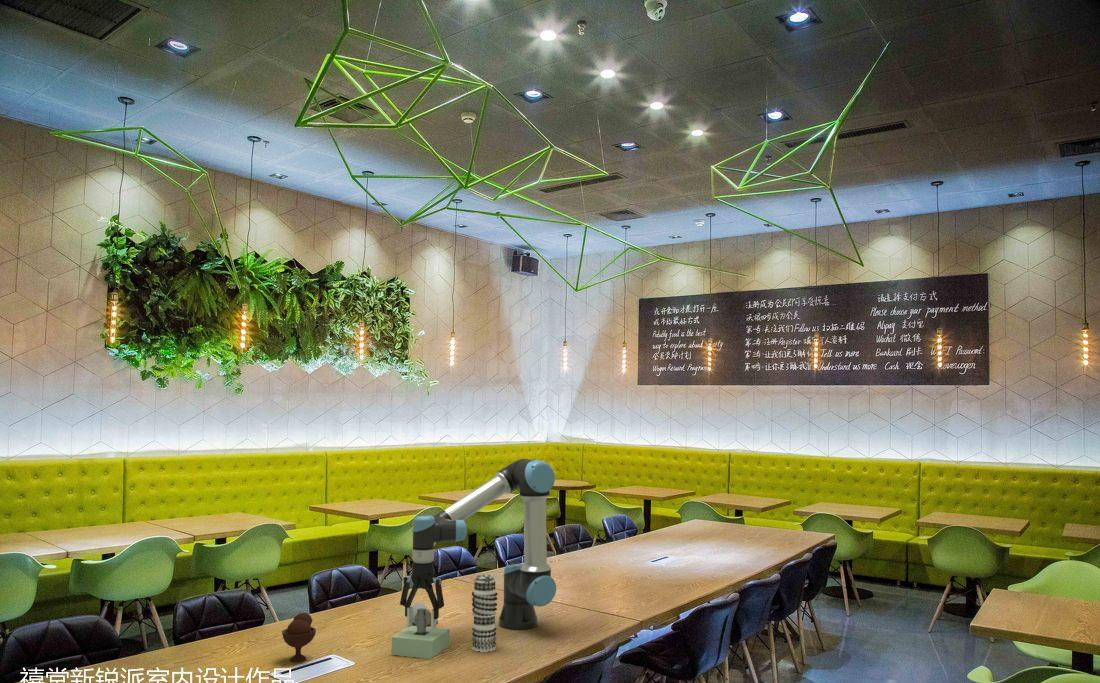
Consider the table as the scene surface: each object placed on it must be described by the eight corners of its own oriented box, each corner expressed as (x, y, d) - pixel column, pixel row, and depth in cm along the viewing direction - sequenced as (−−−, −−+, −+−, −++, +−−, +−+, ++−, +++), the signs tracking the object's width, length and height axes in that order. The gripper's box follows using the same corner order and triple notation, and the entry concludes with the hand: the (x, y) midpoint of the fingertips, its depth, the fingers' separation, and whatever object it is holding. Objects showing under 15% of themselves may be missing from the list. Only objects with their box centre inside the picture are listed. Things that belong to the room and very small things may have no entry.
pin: (427, 649, 270) (428, 608, 271) (423, 652, 267) (424, 611, 268) (418, 649, 271) (419, 608, 272) (414, 651, 268) (415, 610, 269)
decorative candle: (486, 654, 266) (487, 579, 268) (465, 649, 271) (466, 576, 273) (502, 647, 274) (503, 575, 276) (481, 643, 279) (482, 572, 281)
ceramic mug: (414, 629, 296) (415, 608, 296) (408, 623, 303) (409, 603, 304) (440, 626, 300) (441, 606, 301) (434, 621, 308) (435, 601, 308)
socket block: (449, 646, 274) (449, 629, 275) (431, 659, 260) (432, 641, 260) (410, 642, 278) (411, 625, 279) (391, 655, 264) (391, 637, 264)
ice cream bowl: (284, 655, 263) (286, 609, 264) (318, 654, 264) (319, 609, 265) (276, 665, 253) (278, 618, 254) (311, 664, 253) (313, 617, 255)
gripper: (390, 561, 271) (388, 627, 269) (446, 564, 265) (445, 632, 263) (400, 557, 278) (398, 622, 276) (455, 560, 273) (453, 627, 271)
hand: (421, 627), depth 270 cm, fingers open, 8 cm apart
